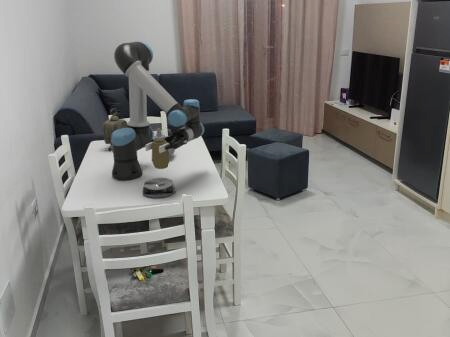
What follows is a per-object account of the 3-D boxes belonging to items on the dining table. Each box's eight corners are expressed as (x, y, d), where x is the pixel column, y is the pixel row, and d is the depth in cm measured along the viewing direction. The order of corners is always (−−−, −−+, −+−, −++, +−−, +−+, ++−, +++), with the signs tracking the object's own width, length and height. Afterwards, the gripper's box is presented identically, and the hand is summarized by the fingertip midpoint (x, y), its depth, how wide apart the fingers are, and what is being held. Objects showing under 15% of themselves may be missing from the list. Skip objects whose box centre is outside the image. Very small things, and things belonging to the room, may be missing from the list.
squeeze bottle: (157, 171, 189) (154, 131, 183) (149, 166, 195) (146, 128, 189) (173, 167, 193) (171, 128, 187) (164, 163, 200) (162, 125, 194)
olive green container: (117, 144, 275) (113, 105, 267) (130, 145, 272) (126, 106, 264) (105, 151, 262) (100, 110, 254) (118, 152, 259) (113, 111, 251)
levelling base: (140, 199, 191) (139, 189, 189) (145, 186, 205) (144, 177, 203) (174, 197, 191) (173, 188, 190) (177, 185, 205) (176, 176, 204)
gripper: (199, 146, 203) (172, 160, 184) (165, 141, 211) (135, 154, 192) (199, 130, 200) (171, 143, 181) (164, 126, 209) (134, 138, 190)
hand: (152, 148), depth 187 cm, fingers closed on squeeze bottle, 6 cm apart
